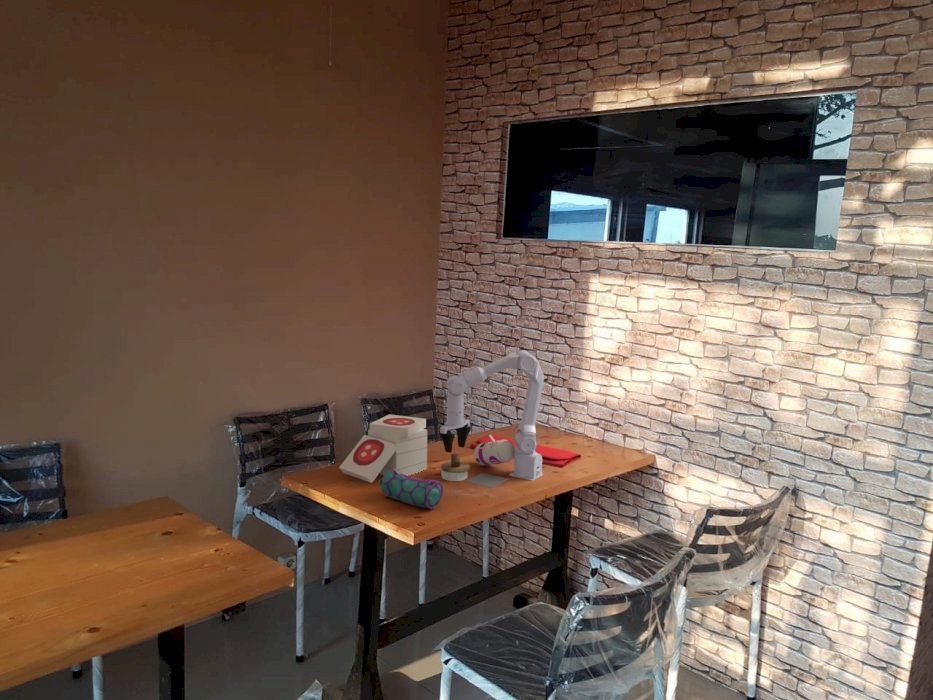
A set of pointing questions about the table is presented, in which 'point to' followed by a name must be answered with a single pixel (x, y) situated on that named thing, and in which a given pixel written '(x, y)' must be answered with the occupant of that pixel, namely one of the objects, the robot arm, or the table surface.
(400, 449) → the pizza boxes
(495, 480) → the mat
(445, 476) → the bowl
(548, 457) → the dish drying mat
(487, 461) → the supplement can
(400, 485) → the pencil case
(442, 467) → the lid
